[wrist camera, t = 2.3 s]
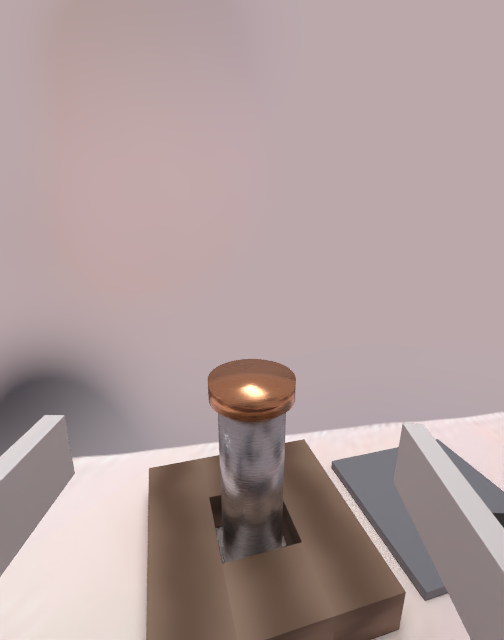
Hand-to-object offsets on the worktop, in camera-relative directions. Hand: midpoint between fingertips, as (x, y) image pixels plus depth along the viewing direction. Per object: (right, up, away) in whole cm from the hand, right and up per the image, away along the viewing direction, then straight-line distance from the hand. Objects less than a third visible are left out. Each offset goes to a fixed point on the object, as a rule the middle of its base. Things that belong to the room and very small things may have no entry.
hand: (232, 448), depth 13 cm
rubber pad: (+18, -13, +19) cm, 29 cm away
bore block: (+1, -14, +15) cm, 21 cm away
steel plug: (+1, -14, +15) cm, 21 cm away
